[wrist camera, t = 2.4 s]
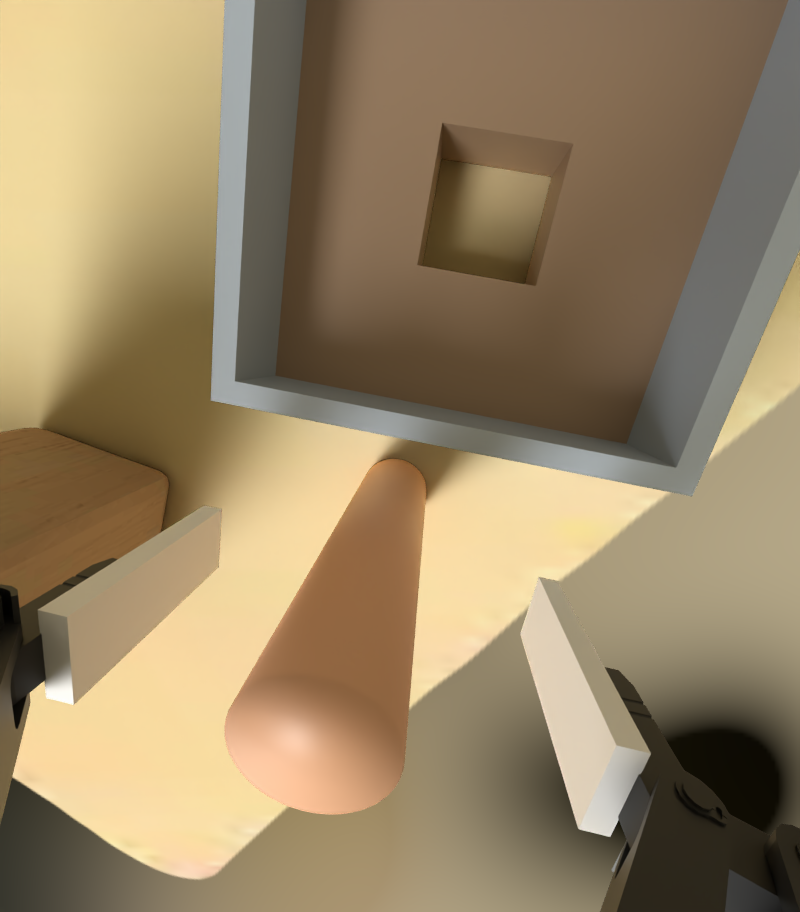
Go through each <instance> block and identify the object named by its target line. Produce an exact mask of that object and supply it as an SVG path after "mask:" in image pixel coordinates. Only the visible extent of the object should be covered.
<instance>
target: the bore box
mask: <svg viewBox="0 0 800 912" xmlns="http://www.w3.org/2000/svg"><path fill="white" fill-rule="evenodd" d="M441 159H447V160H453V161H459V162H465V163H471V164H477V165H484V166H490V167H496V168H502V169H508V170H514V171H520V172H526V173H532V174H538V175H544V176H550V177H552V178H551V182H550V186H549V190H548V194H547V197H546V201H545V205H544V209H543V213H542V217H541V221H540V225H539V229H538V233H537V237H536V241H535V245H534V249H533V253H532V257H531V261H530V265H529V269H528V273H527V277H526V281H525V284H521V283H515V282H510V281H504V280H499V279H493V278H487V277H482V276H476V275H470V274H465V273H459V272H454V271H448V270H442V269H437V268H431V267H425V266H422V265H423V259H424V254H425V248H426V243H427V237H428V231H429V226H430V220H431V215H432V209H433V203H434V198H435V192H436V187H437V181H438V175H439V170H440V164H441ZM799 250H800V0H225V10H224V38H223V66H222V95H221V123H220V151H219V180H218V208H217V236H216V265H215V293H214V322H213V350H212V378H211V401H215V402H220V403H225V404H231V405H236V406H241V407H246V408H251V409H256V410H261V411H266V412H271V413H276V414H281V415H286V416H291V417H296V418H301V419H306V420H311V421H316V422H321V423H326V424H331V425H336V426H341V427H346V428H351V429H356V430H361V431H366V432H371V433H376V434H381V435H386V436H391V437H396V438H401V439H406V440H411V441H416V442H421V443H426V444H431V445H436V446H441V447H446V448H451V449H457V450H462V451H467V452H472V453H477V454H482V455H487V456H492V457H497V458H502V459H507V460H512V461H517V462H522V463H527V464H532V465H537V466H542V467H547V468H552V469H557V470H562V471H567V472H572V473H577V474H582V475H587V476H592V477H597V478H602V479H607V480H612V481H617V482H622V483H627V484H632V485H637V486H642V487H647V488H652V489H657V490H662V491H667V492H672V493H678V494H683V495H688V496H693V493H694V491H695V489H696V486H697V484H698V482H699V480H700V477H701V475H702V473H703V470H704V468H705V466H706V464H707V461H708V459H709V457H710V454H711V452H712V450H713V448H714V445H715V443H716V441H717V438H718V436H719V434H720V431H721V429H722V427H723V425H724V422H725V420H726V418H727V415H728V413H729V411H730V408H731V406H732V404H733V402H734V399H735V397H736V395H737V392H738V390H739V388H740V386H741V383H742V381H743V379H744V376H745V374H746V372H747V369H748V367H749V365H750V363H751V360H752V358H753V356H754V353H755V351H756V349H757V346H758V344H759V342H760V340H761V337H762V335H763V333H764V330H765V328H766V326H767V323H768V321H769V319H770V317H771V314H772V312H773V310H774V307H775V305H776V303H777V301H778V298H779V296H780V294H781V291H782V289H783V287H784V284H785V282H786V280H787V278H788V275H789V273H790V271H791V268H792V266H793V264H794V261H795V259H796V257H797V255H798V252H799Z"/></svg>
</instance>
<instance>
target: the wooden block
mask: <svg viewBox="0 0 800 912" xmlns="http://www.w3.org/2000/svg"><path fill="white" fill-rule="evenodd" d="M168 488H169V482H168V478H167V476H166V475H164V474H163V473H162V472H161V471H158V470H155V469H153V468H150V467H147V466H144V465H142V464H139V463H136V462H133V461H131V460H128V459H125V458H122V457H120V456H117V455H114V454H111V453H109V452H106V451H103V450H100V449H98V448H95V447H92V446H89V445H87V444H84V443H81V442H78V441H76V440H73V439H70V438H67V437H65V436H62V435H59V434H56V433H54V432H51V431H48V430H45V429H39V428H23V429H17V430H12V431H6V432H1V433H0V584H2V585H9V586H13V587H14V588H16V589H17V590H18V598H19V607H20V608H21V607H22V606H24V605H26V604H27V603H29V602H31V601H33V600H34V599H36V598H38V597H39V596H41V595H43V594H44V593H46V592H48V591H49V590H51V589H53V588H54V587H56V586H58V585H59V584H60V585H62V584H63V582H64V581H66V580H68V579H69V578H71V577H73V576H74V577H75V576H76V574H78V573H79V572H81V571H83V570H84V569H86V568H88V567H89V566H91V565H93V564H96V563H99V562H102V561H104V560H107V559H110V558H115V559H119V558H121V557H123V556H124V555H126V554H127V553H129V552H131V551H132V550H134V549H135V548H137V547H139V546H140V545H142V544H143V543H145V542H147V541H148V540H150V539H151V538H153V537H154V536H156V535H158V534H159V533H161V529H162V523H163V517H164V511H165V505H166V500H167V494H168Z"/></svg>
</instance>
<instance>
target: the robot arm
mask: <svg viewBox="0 0 800 912" xmlns="http://www.w3.org/2000/svg"><path fill="white" fill-rule="evenodd" d="M221 516H222V509H219V508H215V507H210V506H205V505H204V506H202V507H201V508H199V509H197V510H196V511H194V512H193V513H191V514H189V515H188V516H186V517H185V518H183V519H182V520H180V521H178V522H177V523H175V524H174V525H172V526H170V527H169V528H167V529H166V530H164V531H162V532H161V533H159V534H158V535H156V536H154V537H153V538H151V539H150V540H148V541H147V542H145V543H143V544H142V545H140V546H139V547H137V548H135V549H134V550H132V551H131V552H129V553H127V554H126V555H124V556H123V557H121V558H119V559H115V558H110V559H107V560H104V561H102V562H99V563H96V564H93V565H91V566H89V567H88V568H86V569H84V570H83V571H81V572H79V573H78V574H76V576H75V577H74V576H73V577H71V578H69V579H68V580H66V581H64V582H63V584H62V585H60V584H59V585H58V586H56V587H54V588H53V589H51V590H49V591H48V592H46V593H44V594H43V595H41V596H39V597H38V598H36V599H34V600H33V601H31V602H29V603H27V604H26V605H24V606H22V607H21V608H20V607H19V598H18V590H17V589H16V588H14V587H13V586H9V585H2V584H0V824H1V820H2V815H3V812H4V808H5V803H6V799H7V795H8V791H9V787H10V783H11V779H12V775H13V771H14V767H15V763H16V759H17V755H18V751H19V747H20V743H21V739H22V735H23V731H24V727H25V723H26V719H27V714H28V710H29V706H30V694H29V693H30V692H31V691H32V690H33V689H35V688H36V687H37V686H38V685H39V684H41V683H42V682H43V681H44V680H45V690H46V698H48V699H52V700H56V701H60V702H64V703H68V704H72V705H74V704H75V703H76V702H77V701H78V700H79V699H80V698H81V697H82V696H84V695H85V694H86V693H87V692H88V691H89V690H90V689H91V688H92V687H93V686H94V685H95V684H96V683H97V682H98V681H99V680H100V679H101V678H102V677H103V676H105V675H106V674H107V673H108V672H109V671H110V670H111V669H112V668H113V667H114V666H115V665H116V664H117V663H118V662H119V661H120V660H121V659H122V658H123V657H125V656H126V655H127V654H128V653H129V652H130V651H131V650H132V649H133V648H134V647H135V646H136V645H137V644H138V643H139V642H140V641H141V640H142V639H143V638H145V637H146V636H147V635H148V634H149V633H150V632H151V631H152V630H153V629H154V628H155V627H156V626H157V625H158V624H159V623H160V622H161V621H162V620H163V619H164V618H166V617H167V616H168V615H169V614H170V613H171V612H172V611H173V610H174V609H175V608H176V607H177V606H178V605H179V604H180V603H181V602H182V601H183V600H184V599H186V598H187V597H188V596H189V595H190V594H191V593H192V592H193V591H194V590H195V589H196V588H197V587H198V586H199V585H200V584H201V583H202V582H203V581H204V580H205V579H207V578H208V577H209V576H210V575H211V574H212V573H213V572H214V571H215V570H216V569H217V568H218V567H219V552H220V534H221ZM520 634H521V638H522V641H523V645H524V648H525V651H526V655H527V658H528V661H529V665H530V668H531V671H532V675H533V678H534V682H535V685H536V688H537V691H538V695H539V698H540V701H541V705H542V708H543V712H544V715H545V718H546V721H547V725H548V728H549V731H550V735H551V738H552V742H553V745H554V748H555V752H556V755H557V759H558V762H559V765H560V768H561V772H562V775H563V779H564V782H565V785H566V788H567V791H568V795H569V799H570V802H571V805H572V809H573V812H574V815H575V819H576V822H577V825H578V829H581V830H585V831H589V832H593V833H597V834H601V835H605V836H609V837H610V836H611V834H612V832H613V830H614V828H615V826H616V824H617V822H618V820H619V821H620V824H621V826H622V829H623V831H624V834H625V837H626V839H627V841H626V843H625V845H624V847H623V849H622V851H621V853H620V854H619V857H618V859H617V860H616V862H615V864H614V866H613V868H612V871H613V872H614V874H613V877H612V880H611V882H610V885H609V888H608V891H607V894H606V897H605V899H604V902H603V905H602V908H601V911H600V912H800V829H799V828H797V827H795V826H793V825H786V824H780V825H779V826H778V827H777V828H776V829H775V830H774V832H773V833H772V835H771V836H770V835H768V834H765V833H764V832H762V831H760V830H758V829H756V828H754V827H752V826H750V825H749V824H747V823H745V822H743V821H741V820H739V819H737V818H735V817H733V816H732V815H730V814H729V813H728V811H727V809H726V808H725V806H724V804H723V803H722V802H721V801H720V799H719V798H718V797H717V796H716V795H715V793H714V792H713V791H712V790H710V789H709V788H708V787H707V786H706V785H705V784H704V783H703V782H701V781H700V780H699V779H697V778H696V777H694V776H692V775H691V774H689V773H688V772H686V771H684V770H683V768H682V766H681V765H680V763H679V761H678V760H677V758H676V756H675V755H674V753H673V751H672V750H671V748H670V746H669V745H668V743H667V741H666V739H665V738H664V736H663V734H662V733H661V731H660V729H659V728H658V726H657V724H656V723H655V721H654V720H653V719H651V714H650V713H649V711H648V709H647V708H646V706H645V705H643V701H642V699H641V698H640V696H639V694H638V693H637V691H636V689H635V688H634V686H633V685H632V684H631V683H630V682H629V681H628V680H627V679H626V678H625V677H624V676H623V675H622V674H621V672H620V671H618V670H615V669H610V668H606V667H604V666H603V664H602V662H601V660H600V658H599V656H598V654H597V652H596V651H595V649H594V647H593V645H592V643H591V641H590V640H589V638H588V636H587V634H586V632H585V630H584V628H583V626H582V625H581V623H580V621H579V619H578V617H577V615H576V614H575V612H574V610H573V608H572V606H571V604H570V602H569V600H568V599H567V597H566V595H565V593H564V591H563V589H562V587H561V586H560V584H559V582H558V581H555V580H550V579H546V578H541V577H539V578H538V581H537V584H536V587H535V590H534V593H533V596H532V600H531V603H530V606H529V609H528V612H527V615H526V618H525V621H524V624H523V627H522V630H521V633H520Z"/></svg>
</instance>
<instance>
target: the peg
mask: <svg viewBox="0 0 800 912" xmlns="http://www.w3.org/2000/svg"><path fill="white" fill-rule="evenodd" d="M425 500H426V483H425V480H424V478H423V476H422V474H421V472H420V471H419V470H418V469H417V468H416V467H415V466H414V465H412V464H411V463H409V462H407V461H404V460H401V459H387V460H383V461H380V462H378V463H377V464H375V465H374V466H373V467H372V468H371V469H370V470H369V471H368V473H367V474H366V476H365V478H364V479H363V481H362V483H361V485H360V486H359V488H358V490H357V491H356V493H355V495H354V497H353V498H352V500H351V502H350V503H349V505H348V507H347V508H346V510H345V512H344V514H343V515H342V517H341V519H340V520H339V522H338V524H337V526H336V527H335V529H334V531H333V532H332V534H331V536H330V538H329V539H328V541H327V543H326V544H325V546H324V548H323V550H322V551H321V553H320V555H319V556H318V558H317V560H316V562H315V563H314V565H313V567H312V568H311V570H310V572H309V573H308V575H307V577H306V579H305V580H304V582H303V584H302V585H301V587H300V589H299V591H298V592H297V594H296V596H295V597H294V599H293V601H292V603H291V604H290V606H289V608H288V609H287V611H286V613H285V615H284V616H283V618H282V620H281V621H280V623H279V625H278V627H277V628H276V630H275V632H274V633H273V635H272V637H271V638H270V640H269V642H268V644H267V645H266V647H265V649H264V650H263V652H262V654H261V656H260V657H259V659H258V661H257V662H256V664H255V666H254V668H253V669H252V671H251V673H250V674H249V676H248V678H247V680H246V681H245V683H244V685H243V686H242V688H241V690H240V692H239V693H238V695H237V697H236V698H235V700H234V702H233V704H232V705H231V707H230V709H229V711H228V714H227V717H226V721H225V740H226V745H227V748H228V751H229V754H230V756H231V758H232V760H233V762H234V764H235V765H236V767H237V768H238V770H239V771H240V772H241V773H242V774H243V776H244V777H245V778H246V779H247V780H248V781H249V782H250V783H251V784H252V785H253V786H255V787H256V788H257V789H258V790H260V791H261V792H262V793H264V794H266V795H267V796H269V797H270V798H272V799H274V800H276V801H278V802H280V803H282V804H284V805H287V806H289V807H292V808H295V809H299V810H302V811H306V812H312V813H318V814H345V813H351V812H356V811H360V810H363V809H366V808H368V807H370V806H373V805H375V804H376V803H378V802H379V801H381V800H383V799H384V798H385V797H386V796H387V795H389V794H390V793H391V791H392V790H393V789H394V788H395V787H396V785H397V783H398V782H399V780H400V778H401V775H402V772H403V768H404V762H405V750H406V738H407V726H408V713H409V701H410V688H411V676H412V663H413V651H414V638H415V626H416V613H417V601H418V588H419V576H420V563H421V551H422V538H423V526H424V513H425Z"/></svg>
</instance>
